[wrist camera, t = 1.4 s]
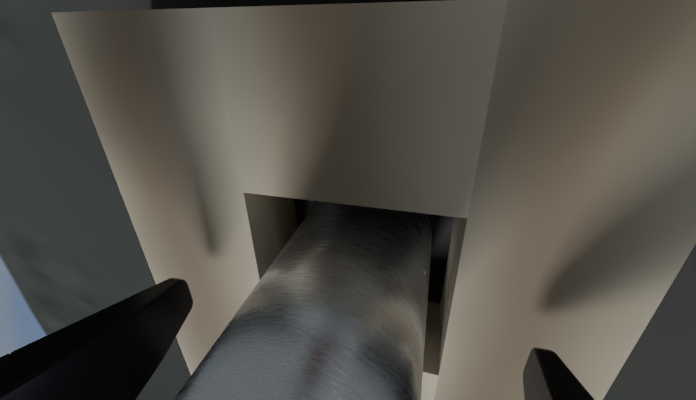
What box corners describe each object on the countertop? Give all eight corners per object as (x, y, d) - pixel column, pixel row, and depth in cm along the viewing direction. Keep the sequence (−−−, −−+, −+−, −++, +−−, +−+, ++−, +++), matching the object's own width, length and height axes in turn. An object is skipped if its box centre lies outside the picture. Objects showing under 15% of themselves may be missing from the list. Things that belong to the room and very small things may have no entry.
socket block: (700, -1, 7) (848, -13, 4) (533, 396, 14) (553, 482, 11) (150, 14, 10) (51, 12, 8) (232, 328, 17) (194, 383, 14)
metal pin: (450, 175, 10) (466, 966, 2) (432, 295, 13) (402, 876, 4) (298, 162, 11) (-149, 590, 3) (309, 274, 14) (83, 690, 5)
